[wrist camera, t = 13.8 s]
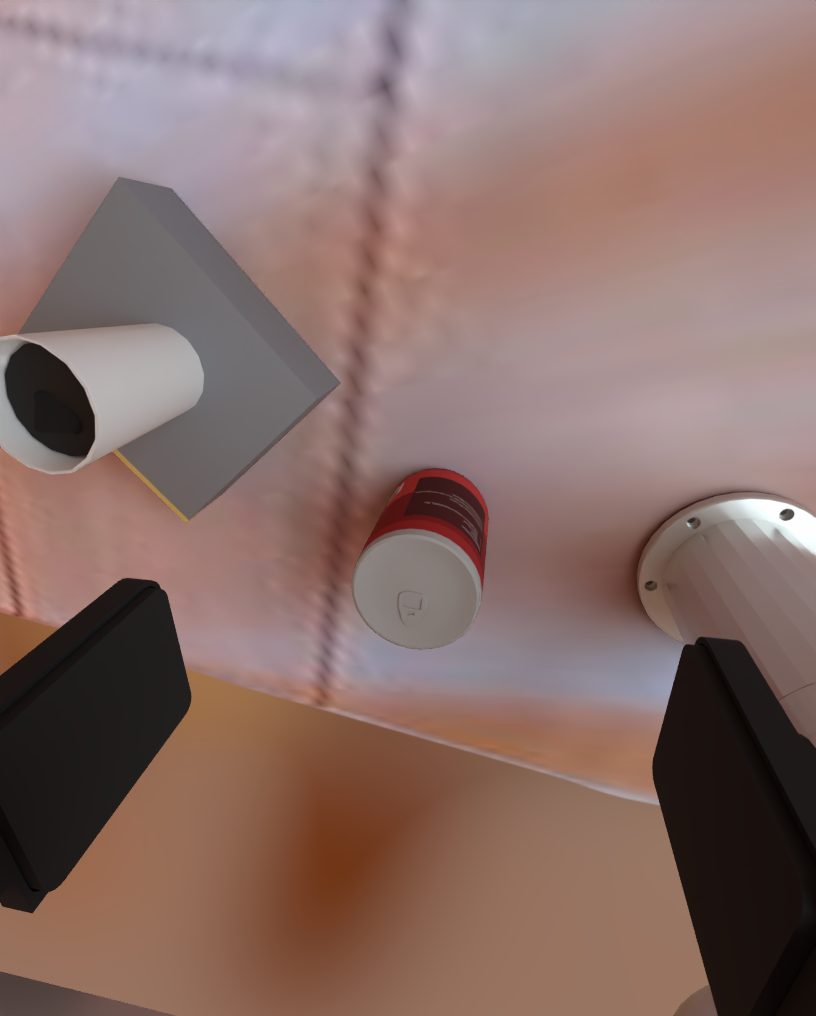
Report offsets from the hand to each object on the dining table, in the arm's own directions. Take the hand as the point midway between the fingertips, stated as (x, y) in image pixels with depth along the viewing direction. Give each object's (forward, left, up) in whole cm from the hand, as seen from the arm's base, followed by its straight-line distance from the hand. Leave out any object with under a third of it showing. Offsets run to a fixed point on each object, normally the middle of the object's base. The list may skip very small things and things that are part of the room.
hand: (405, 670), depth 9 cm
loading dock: (+14, +15, -28) cm, 35 cm away
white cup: (+14, +15, -24) cm, 31 cm away
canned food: (-6, +9, -28) cm, 30 cm away
